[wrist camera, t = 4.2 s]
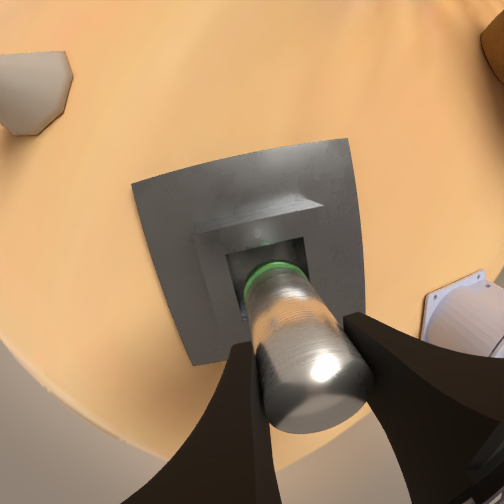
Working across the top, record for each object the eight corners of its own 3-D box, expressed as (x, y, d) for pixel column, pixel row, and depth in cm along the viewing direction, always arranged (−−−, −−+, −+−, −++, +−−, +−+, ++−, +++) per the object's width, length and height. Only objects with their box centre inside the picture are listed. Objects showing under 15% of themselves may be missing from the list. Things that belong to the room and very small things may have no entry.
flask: (12, 75, 12) (-63, 54, 2) (77, 39, 12) (6, -13, 3) (10, 149, 14) (-79, 156, 5) (75, 119, 15) (-23, 97, 5)
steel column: (301, 252, 14) (378, 340, 6) (310, 309, 15) (370, 414, 7) (236, 267, 13) (252, 377, 6) (250, 323, 14) (273, 444, 7)
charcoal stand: (341, 139, 17) (370, 133, 13) (360, 317, 21) (382, 343, 17) (136, 183, 16) (113, 187, 13) (193, 358, 21) (189, 392, 17)
